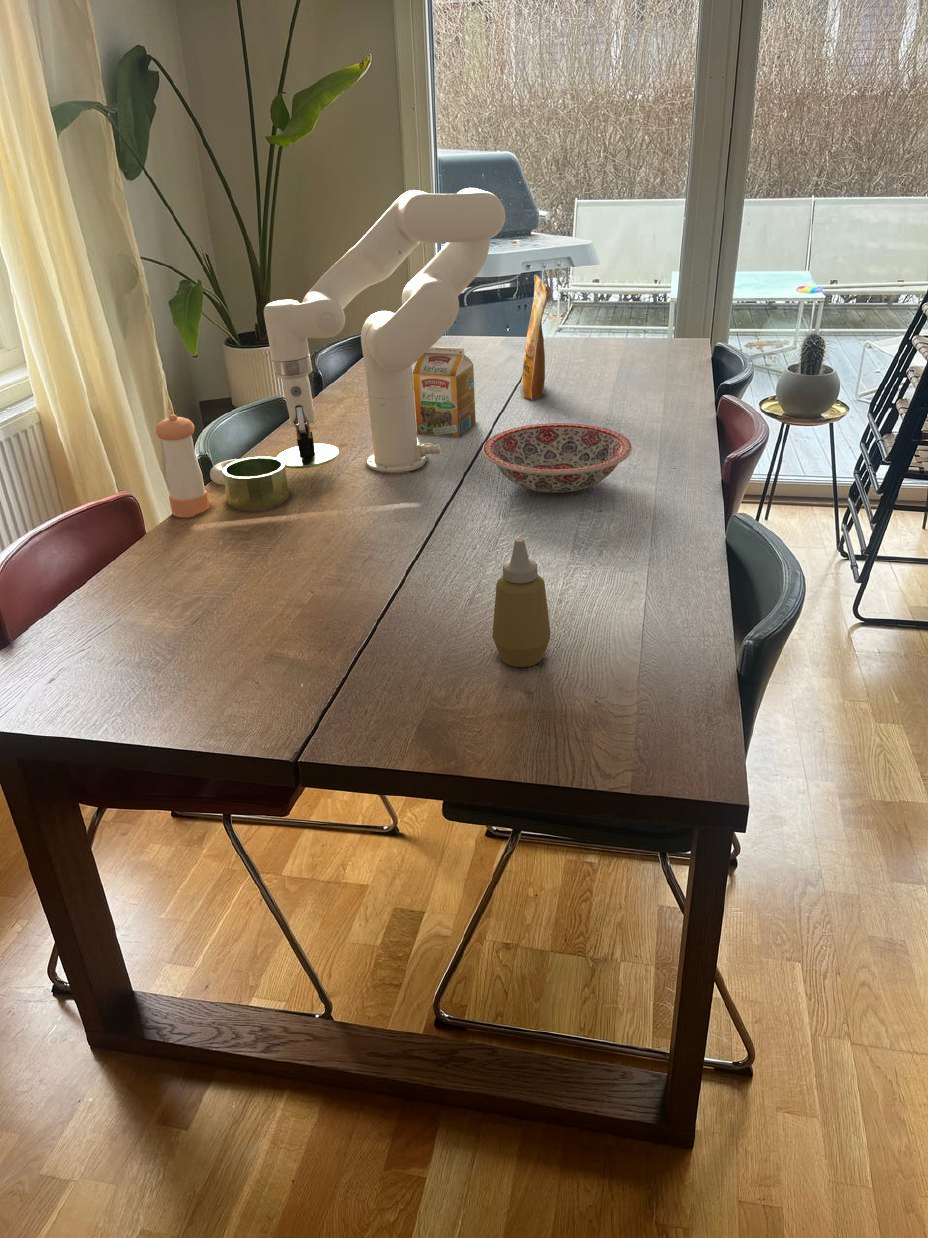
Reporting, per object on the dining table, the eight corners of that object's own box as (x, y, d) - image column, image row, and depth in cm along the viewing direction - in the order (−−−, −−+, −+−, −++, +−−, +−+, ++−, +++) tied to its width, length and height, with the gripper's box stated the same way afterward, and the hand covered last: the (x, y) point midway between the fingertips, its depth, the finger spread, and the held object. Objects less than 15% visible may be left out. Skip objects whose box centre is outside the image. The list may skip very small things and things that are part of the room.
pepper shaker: (190, 520, 182) (171, 422, 173) (164, 513, 186) (143, 418, 177) (218, 507, 188) (200, 412, 178) (191, 501, 191) (173, 407, 182)
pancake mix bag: (547, 381, 257) (546, 272, 243) (549, 401, 240) (549, 285, 227) (522, 381, 257) (520, 273, 244) (522, 402, 241) (521, 286, 227)
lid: (338, 445, 206) (333, 417, 202) (341, 466, 194) (336, 437, 191) (277, 453, 204) (272, 425, 201) (277, 474, 193) (271, 445, 190)
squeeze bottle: (490, 645, 137) (485, 529, 128) (545, 640, 137) (545, 525, 128) (496, 675, 129) (492, 555, 121) (555, 670, 130) (555, 550, 121)
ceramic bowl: (647, 467, 196) (649, 430, 192) (604, 521, 173) (605, 479, 169) (516, 453, 207) (515, 417, 203) (459, 501, 185) (457, 462, 181)
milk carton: (417, 433, 222) (411, 351, 213) (435, 420, 231) (430, 340, 222) (458, 437, 219) (454, 353, 209) (475, 423, 227) (472, 342, 218)
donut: (203, 488, 198) (248, 489, 195) (200, 472, 196) (245, 473, 194) (223, 471, 206) (266, 471, 204) (220, 456, 204) (263, 456, 202)
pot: (289, 486, 196) (284, 454, 193) (289, 508, 186) (284, 474, 182) (229, 492, 195) (224, 460, 191) (226, 514, 184) (220, 480, 181)
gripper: (312, 373, 183) (327, 464, 192) (310, 353, 197) (324, 439, 206) (273, 378, 182) (289, 469, 191) (273, 358, 196) (289, 443, 205)
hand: (307, 452), depth 199 cm, fingers closed on lid, 2 cm apart
